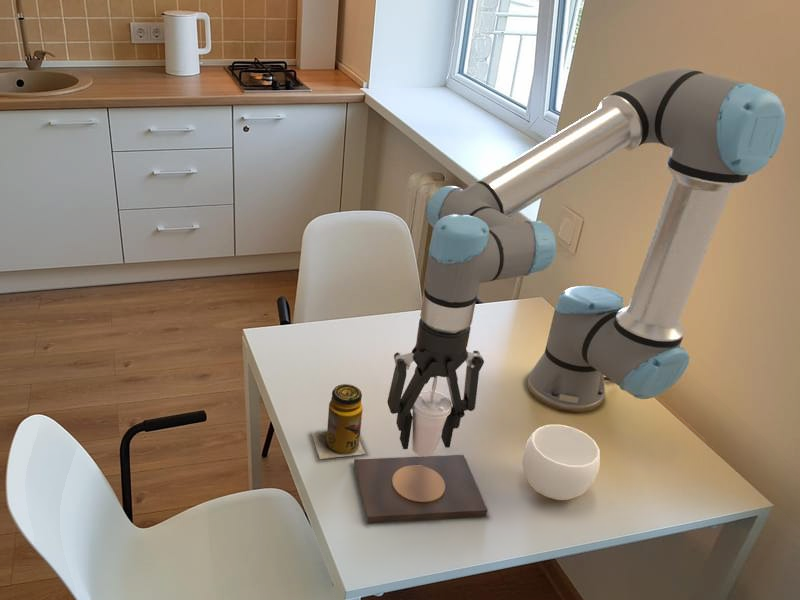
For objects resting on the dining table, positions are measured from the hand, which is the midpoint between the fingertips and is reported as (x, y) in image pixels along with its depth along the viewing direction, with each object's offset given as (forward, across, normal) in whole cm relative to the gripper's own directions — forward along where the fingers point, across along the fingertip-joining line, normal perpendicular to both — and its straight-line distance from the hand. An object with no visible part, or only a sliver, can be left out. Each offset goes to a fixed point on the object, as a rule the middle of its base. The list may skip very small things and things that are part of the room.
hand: (424, 442), depth 118 cm
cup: (+11, -24, +1) cm, 26 cm away
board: (+11, 0, 0) cm, 11 cm away
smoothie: (+2, 0, 0) cm, 2 cm away
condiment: (+11, +12, -13) cm, 21 cm away
